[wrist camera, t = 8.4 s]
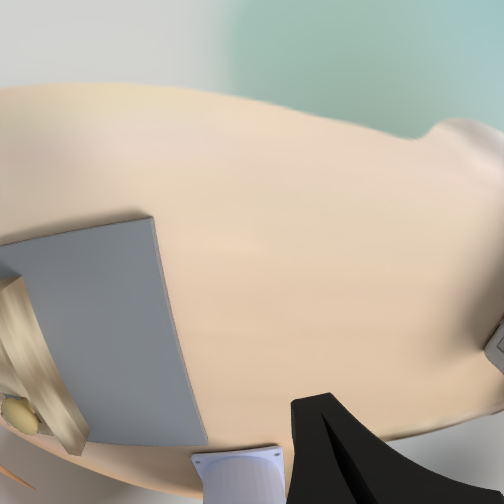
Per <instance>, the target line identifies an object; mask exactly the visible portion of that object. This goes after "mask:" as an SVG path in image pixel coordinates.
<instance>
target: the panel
mask: <svg viewBox="0 0 504 504" xmlns="http://www.w3.org/2000/svg"><path fill="white" fill-rule="evenodd" d="M0 393H4V394H9V395H14V396H20V397H26V398H27V400H28V401H29V403H30V405H31V406H32V408H33V409H34V411H35V413H34V415H35V416H36V418H37V419H38V421H39V428H38V430H37V432H38V433H43V434H48V435H53V436H56V437H57V439H58V440H59V442H60V443H61V444H62V446H63V447H64V448H65V450H66V451H67V452H68V454H71V455H76V456H81V454H82V451H83V449H84V446H85V443H86V441H87V438H88V436H89V433H90V430H91V429H90V427H89V426H88V424H87V423H86V421H85V419H84V418H83V416H82V414H81V413H80V411H79V409H78V407H77V406H76V404H75V402H74V400H73V398H72V397H71V395H70V393H69V391H68V389H67V387H66V385H65V383H64V381H63V379H62V377H61V375H60V373H59V371H58V369H57V367H56V365H55V363H54V360H53V358H52V356H51V354H50V352H49V349H48V347H47V345H46V342H45V340H44V337H43V335H42V332H41V330H40V327H39V325H38V322H37V319H36V316H35V314H34V311H33V308H32V305H31V302H30V299H29V296H28V293H27V290H26V286H25V283H24V280H23V276H18V277H11V278H4V279H0ZM1 415H2V417H3V418H4V420H5V421H6V423H7V424H8V425H10V426H13V425H11V424H10V423H9V421H8V420H7V419H6V418H5V416H4V415H3V413H1Z"/></svg>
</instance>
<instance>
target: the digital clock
mask: <svg viewBox="0 0 504 504" xmlns="http://www.w3.org/2000/svg"><path fill="white" fill-rule="evenodd" d="M499 324H500V326H499V328H498V329H497V331H496V332H495V334H494V335H493V336H492V338H491V339H490V341H489V342H488V344H487V345H486V347H485V350H484V353H485V356H486V357H487V359H488V360H489V361H490V362H491V363H492V364H493V365H494V366H496V367H497V368H498V369H499V370H500V371H501V372H502V373H503V374H504V317H503V319H502V320H501V322H500V323H499Z"/></svg>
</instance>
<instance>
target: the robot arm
mask: <svg viewBox="0 0 504 504" xmlns="http://www.w3.org/2000/svg"><path fill="white" fill-rule="evenodd" d="M291 426H292V438H293V444H294V451H295V456H294V464H293V471H292V478H291V483H290V488H289V493H288V497H287V501H286V497H285V493H284V491H285V483H284V466H283V450H282V447H281V446H271V447H264V448H257V449H249V450H240V451H230V452H218V453H202V454H193V455H191V460H192V462H193V465H194V467H195V469H196V471H197V473H198V475H199V477H200V479H201V481H202V483H203V504H504V496H503V495H502V494H501V492H500V491H496V490H490V489H485V488H480V487H476V486H471V485H468V484H465V483H461V482H458V481H455V480H452V479H449V478H447V477H445V476H442V475H440V474H437V473H435V472H433V471H430V470H428V469H426V468H424V467H422V466H420V465H418V464H416V463H415V462H413V461H411V460H410V459H408V458H406V457H404V456H403V455H401V454H400V453H398V452H397V451H395V450H394V449H392V448H391V447H390V446H388V445H387V444H386V443H384V442H383V441H382V440H380V439H379V438H378V437H376V436H375V435H374V434H373V433H372V432H371V431H369V430H368V429H367V428H366V427H365V426H364V425H362V424H361V423H360V422H359V421H358V420H357V419H356V418H355V417H354V416H353V415H352V414H351V413H350V412H349V411H348V410H347V409H346V408H345V407H344V406H343V405H342V404H341V403H340V402H339V401H338V400H337V399H336V398H335V397H334V395H333V394H331V393H330V392H329V393H325V394H320V395H316V396H311V397H306V398H301V399H295V400H293V401H292V402H291Z"/></svg>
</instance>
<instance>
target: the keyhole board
mask: <svg viewBox="0 0 504 504" xmlns="http://www.w3.org/2000/svg"><path fill="white" fill-rule="evenodd" d="M18 276H23V280H24V283H25V286H26V290H27V293H28V296H29V299H30V302H31V305H32V308H33V311H34V314H35V316H36V319H37V322H38V325H39V327H40V330H41V332H42V335H43V337H44V340H45V342H46V345H47V347H48V349H49V352H50V354H51V356H52V358H53V360H54V363H55V365H56V367H57V369H58V371H59V373H60V375H61V377H62V379H63V381H64V383H65V385H66V387H67V389H68V391H69V393H70V395H71V397H72V398H73V400H74V402H75V404H76V406H77V407H78V409H79V411H80V413H81V414H82V416H83V418H84V419H85V421H86V423H87V424H88V426H89V427H90V429H91V430H90V433H89V436H88V438H87V441H89V442H97V443H107V444H119V445H135V446H200V445H208V437H207V434H206V431H205V428H204V425H203V422H202V419H201V416H200V413H199V410H198V407H197V403H196V400H195V397H194V394H193V390H192V387H191V383H190V380H189V376H188V373H187V369H186V366H185V362H184V358H183V355H182V351H181V347H180V343H179V339H178V335H177V331H176V327H175V323H174V319H173V315H172V310H171V306H170V302H169V297H168V292H167V288H166V283H165V278H164V273H163V268H162V263H161V258H160V252H159V247H158V241H157V236H156V230H155V224H154V217H150V218H144V219H137V220H131V221H125V222H119V223H113V224H107V225H102V226H96V227H90V228H85V229H80V230H74V231H69V232H64V233H59V234H54V235H49V236H44V237H39V238H34V239H30V240H25V241H20V242H16V243H11V244H7V245H2V246H0V279H4V278H11V277H18ZM5 396H6V397H7V398H6V400H5V401H4V402H3V404H2V405H1V410H2V413H3V415H4V416H5V418H6V419H7V420H8V421H9V423H10V424H11V425H13V426H14V427H15V428H16V429H17V430H19V431H21V432H22V433H24V434H27V435H35V433H36V432H37V430H38V428H39V421H38V419H37V418H36V416H35V415H34V413H35V411H34V409H33V408H32V406H31V405H30V403H29V401H28V400H27V398H26V397H20V396H14V395H9V394H5ZM37 433H38V432H37ZM41 434H43V433H41ZM46 435H48V434H46ZM51 436H53V435H51Z"/></svg>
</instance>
